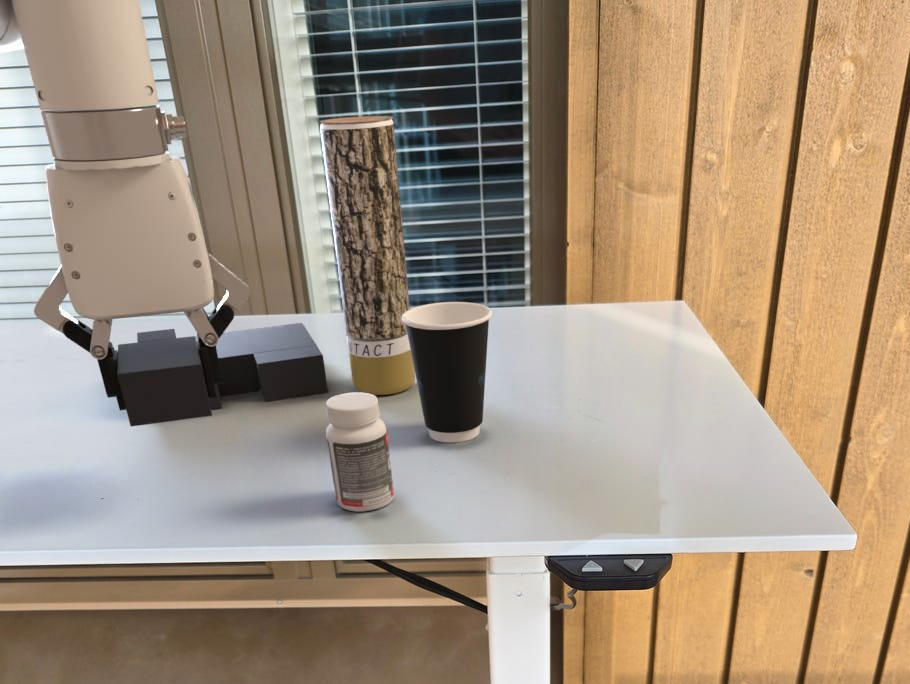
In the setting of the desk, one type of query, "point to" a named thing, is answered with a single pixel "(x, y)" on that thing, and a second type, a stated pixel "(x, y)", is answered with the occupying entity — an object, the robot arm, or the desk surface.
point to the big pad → (270, 363)
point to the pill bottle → (358, 452)
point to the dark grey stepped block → (162, 378)
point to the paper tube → (369, 249)
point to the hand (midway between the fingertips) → (168, 396)
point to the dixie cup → (450, 366)
